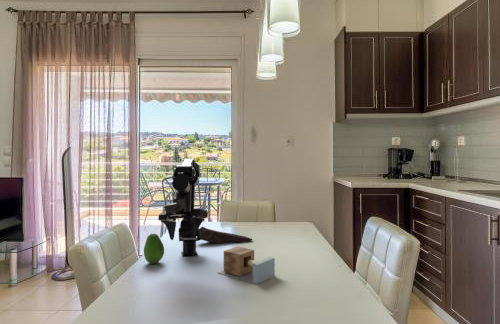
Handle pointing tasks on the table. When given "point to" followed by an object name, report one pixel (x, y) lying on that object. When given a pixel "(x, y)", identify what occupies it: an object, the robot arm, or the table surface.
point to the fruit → (153, 249)
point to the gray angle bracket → (257, 271)
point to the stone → (220, 236)
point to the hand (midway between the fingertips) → (182, 239)
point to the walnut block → (238, 261)
